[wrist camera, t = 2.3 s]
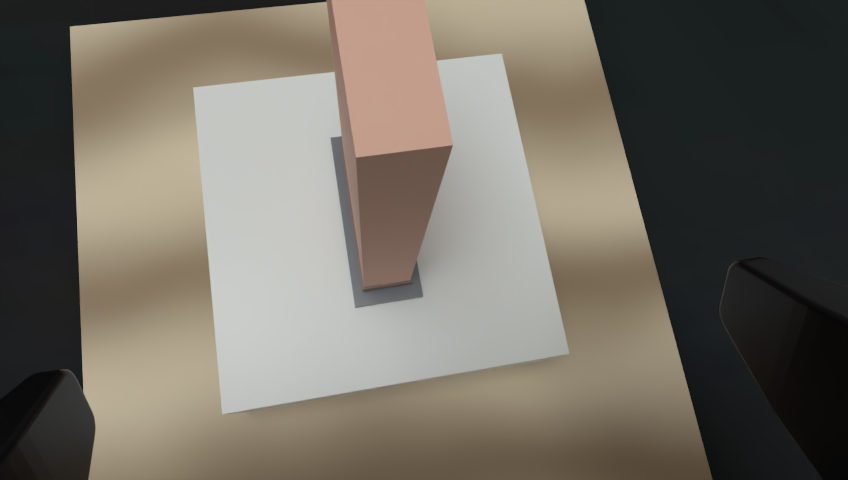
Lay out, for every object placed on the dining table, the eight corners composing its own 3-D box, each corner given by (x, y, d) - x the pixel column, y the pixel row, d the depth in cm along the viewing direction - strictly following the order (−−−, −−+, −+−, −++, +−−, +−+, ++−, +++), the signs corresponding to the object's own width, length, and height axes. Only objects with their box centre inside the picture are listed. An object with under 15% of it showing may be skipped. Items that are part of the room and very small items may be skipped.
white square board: (539, 361, 19) (571, 353, 16) (246, 412, 18) (220, 414, 15) (484, 100, 21) (502, 50, 18) (218, 132, 20) (191, 84, 17)
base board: (722, 551, 19) (733, 556, 18) (104, 689, 17) (94, 699, 16) (572, -12, 24) (577, -23, 23) (78, 36, 21) (69, 26, 21)
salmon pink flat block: (411, 283, 16) (457, 148, 8) (362, 291, 16) (352, 161, 7) (387, 139, 17) (403, -125, 9) (341, 145, 17) (310, -118, 8)
